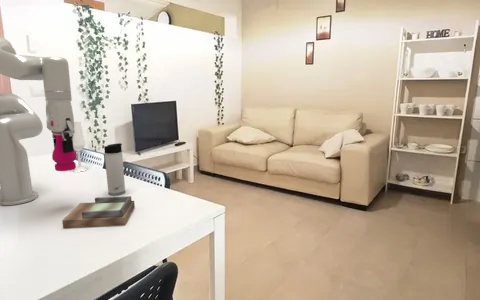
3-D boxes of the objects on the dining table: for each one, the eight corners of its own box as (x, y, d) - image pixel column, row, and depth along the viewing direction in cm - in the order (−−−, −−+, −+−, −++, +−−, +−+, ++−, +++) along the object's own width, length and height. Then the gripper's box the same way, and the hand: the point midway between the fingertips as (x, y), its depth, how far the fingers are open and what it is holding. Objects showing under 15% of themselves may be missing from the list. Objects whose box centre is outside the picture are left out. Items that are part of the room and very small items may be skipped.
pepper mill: (53, 172, 103) (46, 111, 99) (54, 167, 110) (47, 109, 105) (77, 170, 107) (72, 111, 102) (77, 165, 113) (72, 109, 109)
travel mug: (120, 196, 121) (116, 145, 117) (105, 195, 123) (100, 144, 118) (129, 190, 127) (125, 142, 123) (114, 189, 128) (110, 141, 124)
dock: (63, 228, 95) (61, 214, 94) (80, 209, 108) (79, 197, 107) (125, 225, 97) (123, 211, 96) (134, 207, 110) (133, 195, 109)
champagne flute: (71, 170, 158) (66, 122, 152) (86, 167, 161) (81, 121, 156) (74, 173, 152) (68, 123, 147) (89, 170, 156) (84, 122, 151)
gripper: (34, 95, 105) (40, 148, 109) (58, 98, 95) (64, 156, 99) (58, 95, 111) (63, 145, 115) (83, 97, 101) (88, 152, 105)
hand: (63, 150), depth 107 cm, fingers closed on pepper mill, 5 cm apart
